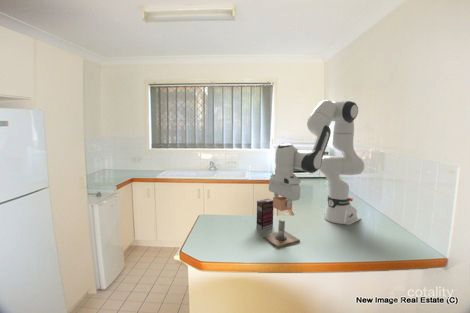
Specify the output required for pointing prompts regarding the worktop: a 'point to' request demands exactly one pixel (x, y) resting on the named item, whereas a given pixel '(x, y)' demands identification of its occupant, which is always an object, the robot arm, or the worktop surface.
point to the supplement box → (264, 214)
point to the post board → (281, 243)
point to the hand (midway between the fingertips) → (282, 204)
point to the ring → (281, 203)
